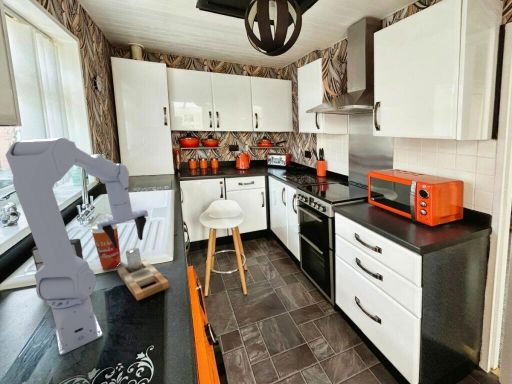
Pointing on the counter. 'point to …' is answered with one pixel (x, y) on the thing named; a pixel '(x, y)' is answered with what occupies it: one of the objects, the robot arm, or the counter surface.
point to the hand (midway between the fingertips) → (128, 242)
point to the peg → (133, 260)
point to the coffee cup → (106, 247)
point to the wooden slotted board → (143, 280)
